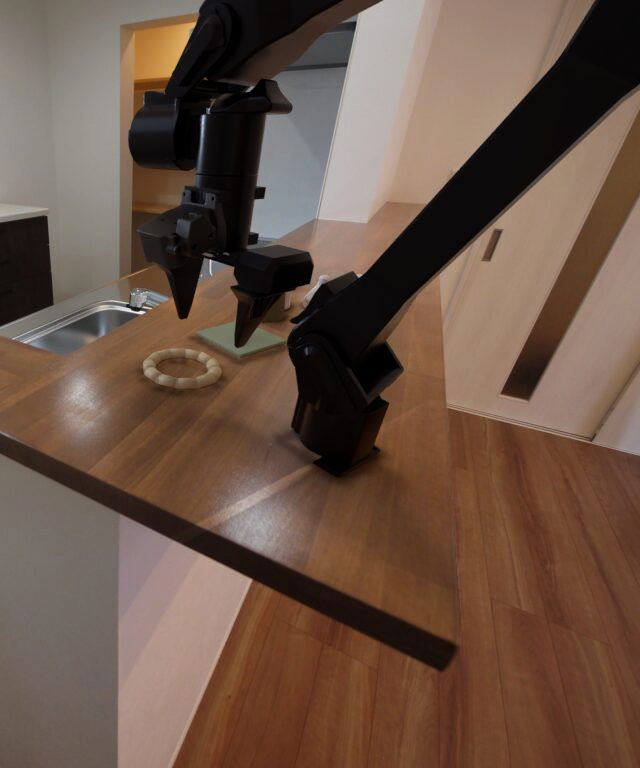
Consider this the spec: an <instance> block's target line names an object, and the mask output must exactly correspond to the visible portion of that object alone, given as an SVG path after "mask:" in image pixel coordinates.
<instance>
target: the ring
mask: <svg viewBox="0 0 640 768" xmlns="http://www.w3.org/2000/svg"><path fill="white" fill-rule="evenodd" d="M172 358H173V359H174V358H175V359H176V358H178V359H179V358H181V359H183V358H185V359H189V360H193V361H197V362H199V363H201V364H203V365H204V366H205V367H206V369H207V372H206V373H205V374H202V375H199V376H196V377H176V376H173V375H172V376H171V375H168V374H164V373H163V372H161V371H159V370H158V369H157V366H158V364H159V363H160V362H161V361H165V360H169V359H172ZM142 369H143V375H144V376H145V377H147V378H148V379H150V380H151V381H152V382H154V383H155V384H157V385H161V386H165V387H169V388H172V389H177V390H186V389H190V390H191V389H201V388H205V387H208V386H211V385H213V384H215V383H217V382H218V380H220V378H221V376H222V374H223V369H222V368H221V365H220V364H219V361H218V360H217V359H216V358H215V357H213V356H211V355H209V354H207V353H205V352H203V351H200V350H195V349H191V348H187V347H186V348H182V347H181V348H180V347H179V348H165V349H162V350H159V351H155V352H153V353H151V354H150V355H149V356H148V357H147V358H146V359H144V360H143V362H142Z"/></svg>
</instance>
